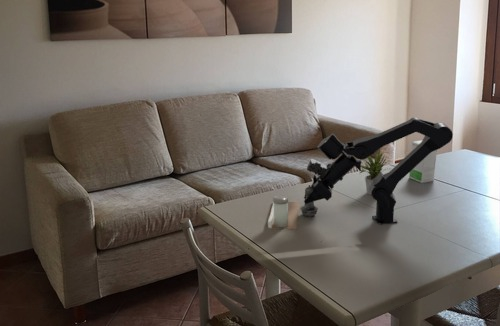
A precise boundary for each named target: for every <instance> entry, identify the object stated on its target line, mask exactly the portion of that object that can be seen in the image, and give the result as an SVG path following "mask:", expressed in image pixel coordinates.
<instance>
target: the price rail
mask: <svg viewBox="0 0 500 326" xmlns="http://www.w3.org/2000/svg"><path fill="white" fill-rule="evenodd" d="M277 196H278V195H277ZM277 196H274V197H277ZM272 203H273V204H272V206H271V210H270V214H269V216H268V220H267V229H273V228H272V224H273V220H274V202H272Z"/></svg>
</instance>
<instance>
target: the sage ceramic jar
mask: <svg viewBox="0 0 500 326" xmlns="http://www.w3.org/2000/svg"><path fill="white" fill-rule="evenodd" d="M272 201H273V202H272V203H274V226H275V227H280V228H282V227H287V226H288V202H289V197H288V196H285V195H277V197H275V196H274V197H273V198H272Z"/></svg>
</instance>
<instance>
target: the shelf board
mask: <svg viewBox="0 0 500 326" xmlns="http://www.w3.org/2000/svg"><path fill="white" fill-rule="evenodd" d="M300 206H301V202H300V201H288V226H287V227H282V228H280V227H275V226H274V220H273V224H272V228H271V229H282V230H284V229H285V230H287V229H289V230H297V228H298V221H299V213H300V208H301V207H300Z"/></svg>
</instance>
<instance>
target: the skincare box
mask: <svg viewBox="0 0 500 326" xmlns="http://www.w3.org/2000/svg"><path fill="white" fill-rule="evenodd" d="M422 140H423V139H421V140H416V141H415V140H414V141H412V142H411V151H413V150H414V149H415V148H416V147H417V146H418V145H419V144H420V143H421V142H422ZM411 151H410V152H411ZM437 152H438V150H435V151H433V152H431V153H430V154H429V155H428V156H427V157H425V158H424V159H423V160H422V161H421V162H420V163H419V164H418V165H417V166H416V167H415V168H413V169H412V170H411V171H410V172H409V173H408V178H409V179H412V180H414V181H417V182H419V183H421V184H424V183H430V182H434V179H435V170H436V163H437Z"/></svg>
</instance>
